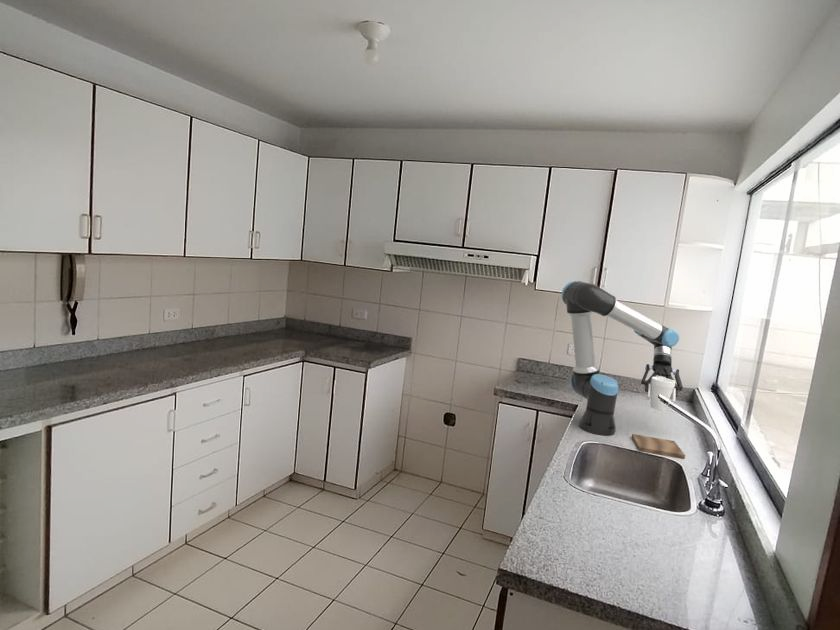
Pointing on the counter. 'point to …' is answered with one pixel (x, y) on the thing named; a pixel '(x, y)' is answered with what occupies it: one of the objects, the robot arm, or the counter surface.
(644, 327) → the robot arm
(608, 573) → the counter surface
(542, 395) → the counter surface
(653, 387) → the foam cup
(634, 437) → the walnut board
